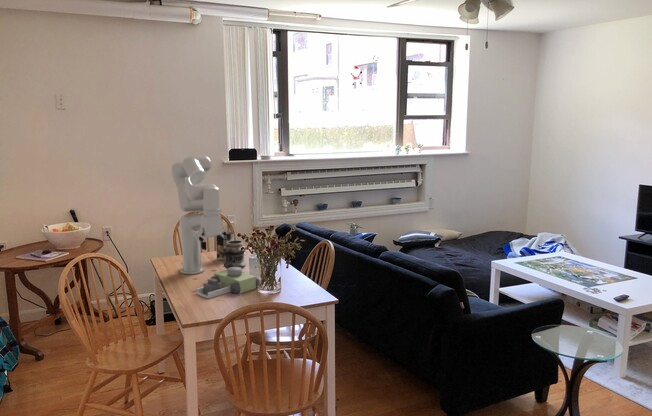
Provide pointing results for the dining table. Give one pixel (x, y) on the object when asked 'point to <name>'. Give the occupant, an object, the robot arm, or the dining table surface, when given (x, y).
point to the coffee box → (220, 249)
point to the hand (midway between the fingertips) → (212, 247)
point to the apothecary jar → (234, 254)
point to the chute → (211, 285)
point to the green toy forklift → (231, 282)
